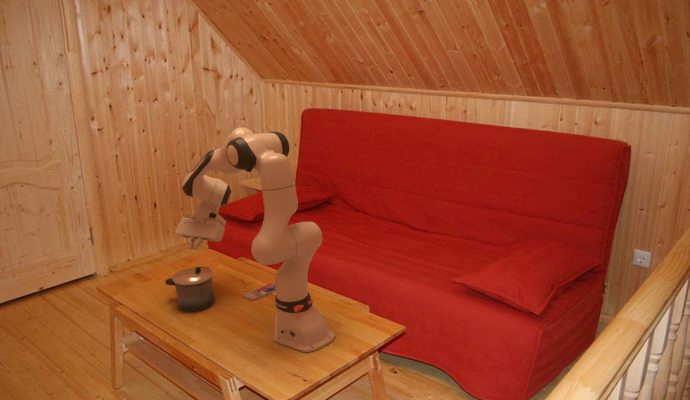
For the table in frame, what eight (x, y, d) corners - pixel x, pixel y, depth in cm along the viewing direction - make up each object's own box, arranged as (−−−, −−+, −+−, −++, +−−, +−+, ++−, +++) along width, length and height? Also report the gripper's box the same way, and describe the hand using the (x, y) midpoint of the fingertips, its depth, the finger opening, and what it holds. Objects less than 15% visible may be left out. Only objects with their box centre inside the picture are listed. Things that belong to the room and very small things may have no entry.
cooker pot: (181, 291, 233) (177, 267, 229) (221, 298, 225) (218, 273, 222) (158, 307, 220) (154, 281, 217) (200, 314, 213) (196, 288, 210)
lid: (190, 267, 228) (189, 261, 228) (221, 272, 223) (220, 265, 222) (164, 282, 214) (163, 275, 214) (196, 287, 209) (196, 280, 208)
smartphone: (241, 295, 226) (271, 282, 236) (241, 297, 226) (271, 284, 236) (251, 300, 221) (281, 287, 230) (252, 302, 221) (282, 289, 231)
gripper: (179, 211, 224) (166, 242, 218) (222, 215, 216) (210, 248, 211) (187, 218, 229) (175, 249, 224) (230, 222, 221) (218, 254, 216)
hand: (192, 248), depth 217 cm, fingers closed
